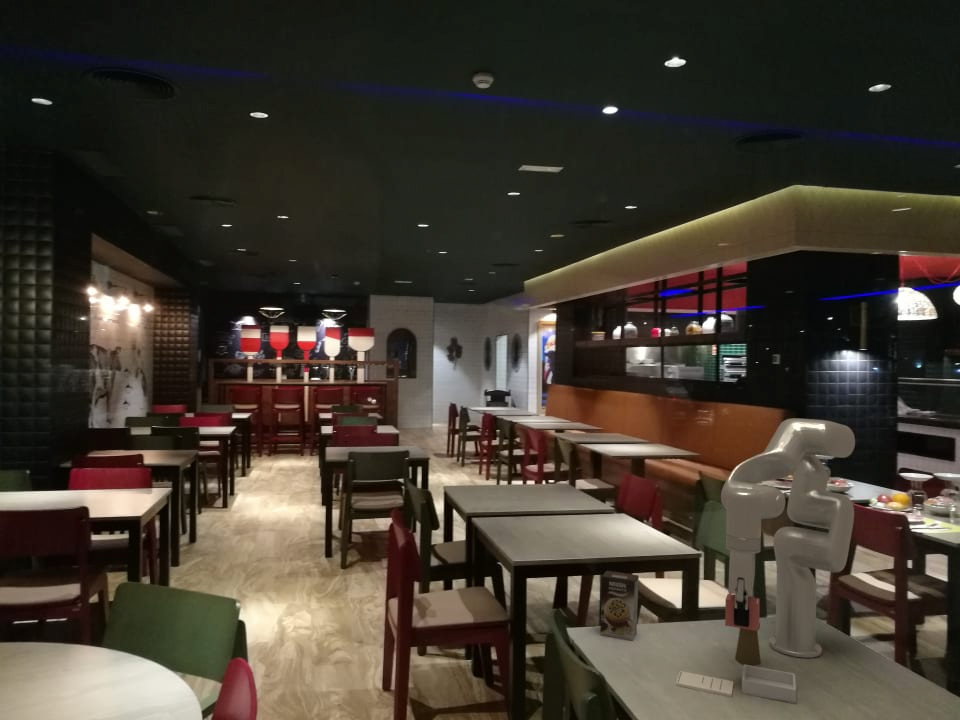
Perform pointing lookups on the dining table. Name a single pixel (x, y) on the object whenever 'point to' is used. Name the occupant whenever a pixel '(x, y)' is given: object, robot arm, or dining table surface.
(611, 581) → the coffee box
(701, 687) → the ticket
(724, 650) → the dining table surface
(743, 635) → the cork
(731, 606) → the red block with stripe
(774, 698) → the tray
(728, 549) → the robot arm
